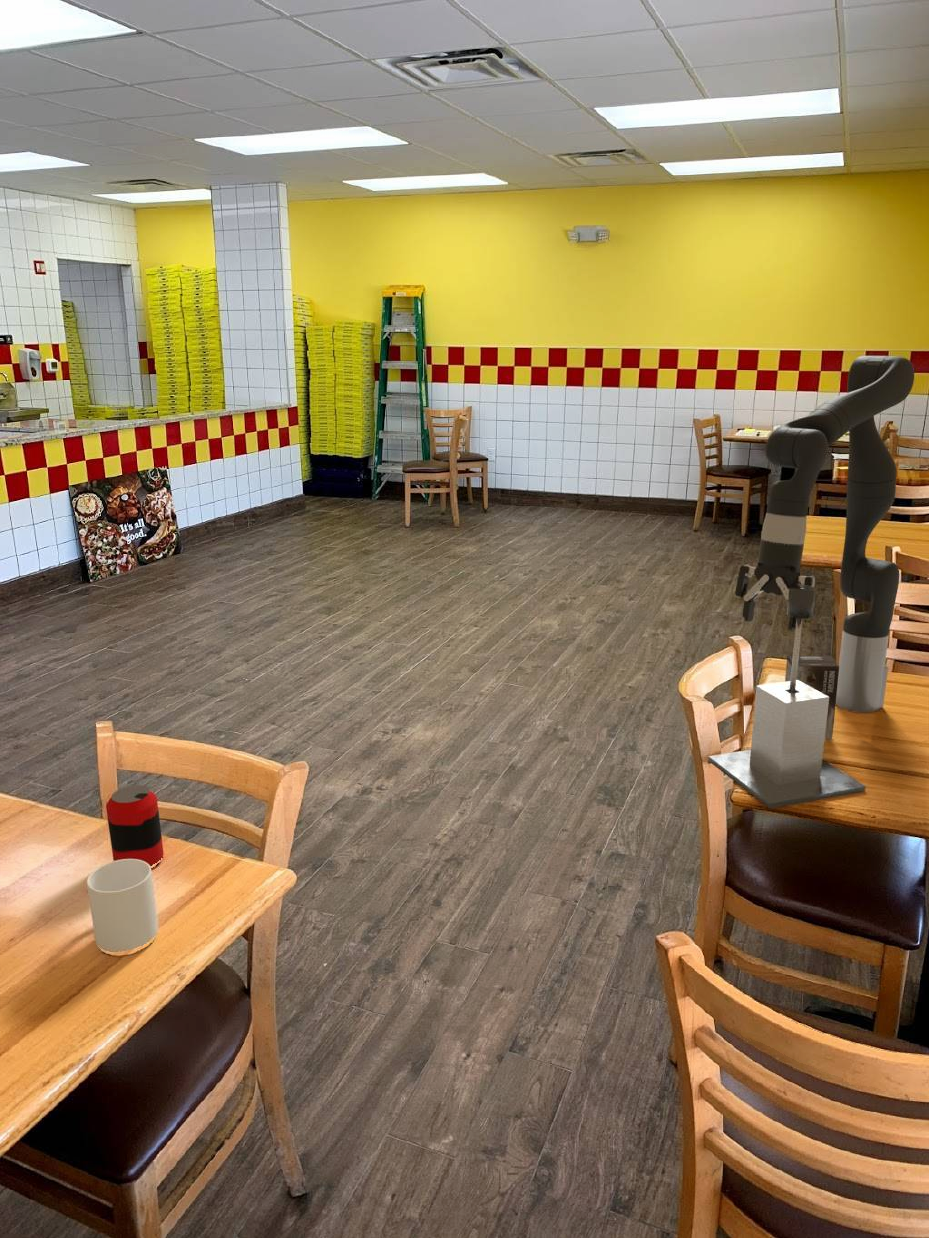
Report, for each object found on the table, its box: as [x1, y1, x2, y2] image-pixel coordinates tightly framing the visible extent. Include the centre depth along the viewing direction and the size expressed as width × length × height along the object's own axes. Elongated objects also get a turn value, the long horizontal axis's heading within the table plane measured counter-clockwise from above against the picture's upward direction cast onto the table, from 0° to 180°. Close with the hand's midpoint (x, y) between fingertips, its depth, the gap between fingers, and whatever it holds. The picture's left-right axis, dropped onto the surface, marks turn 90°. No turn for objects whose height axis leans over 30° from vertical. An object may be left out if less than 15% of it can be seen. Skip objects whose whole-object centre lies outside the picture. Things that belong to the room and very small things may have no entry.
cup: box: [86, 859, 159, 952], centre depth 129 cm, size 8×12×10 cm
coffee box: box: [784, 655, 839, 740], centre depth 190 cm, size 9×6×16 cm
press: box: [707, 680, 867, 809], centre depth 172 cm, size 20×20×17 cm
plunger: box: [786, 584, 817, 694], centre depth 167 cm, size 6×6×22 cm
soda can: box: [105, 785, 165, 866], centre depth 146 cm, size 8×8×12 cm
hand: (769, 625), depth 173 cm, fingers open, 8 cm apart
